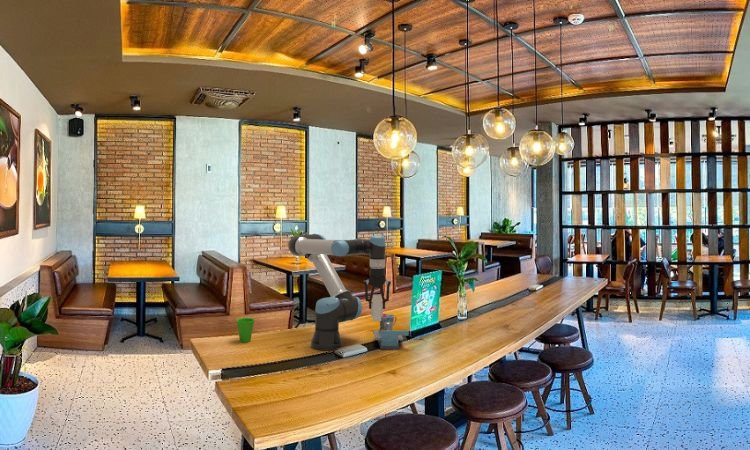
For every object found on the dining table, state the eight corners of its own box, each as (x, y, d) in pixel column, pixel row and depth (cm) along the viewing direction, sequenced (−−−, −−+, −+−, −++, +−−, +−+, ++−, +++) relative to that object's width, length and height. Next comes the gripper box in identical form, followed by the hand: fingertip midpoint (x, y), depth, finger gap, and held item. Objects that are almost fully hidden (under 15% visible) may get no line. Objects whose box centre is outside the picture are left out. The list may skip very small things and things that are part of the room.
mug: (385, 338, 251) (385, 318, 251) (373, 334, 258) (374, 315, 258) (401, 334, 259) (402, 315, 259) (390, 330, 266) (390, 312, 266)
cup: (258, 341, 239) (258, 320, 238) (242, 345, 232) (242, 323, 232) (248, 337, 245) (248, 316, 245) (232, 341, 238) (232, 319, 238)
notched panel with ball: (375, 349, 232) (376, 327, 231) (372, 339, 248) (373, 319, 248) (408, 349, 233) (408, 327, 232) (403, 339, 249) (404, 319, 249)
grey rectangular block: (372, 320, 228) (373, 296, 228) (372, 318, 232) (372, 294, 232) (381, 320, 228) (381, 296, 228) (380, 319, 232) (381, 294, 232)
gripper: (359, 268, 225) (359, 317, 226) (395, 268, 226) (394, 317, 226) (359, 266, 233) (359, 313, 234) (394, 266, 233) (394, 314, 234)
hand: (376, 315), depth 230 cm, fingers closed on grey rectangular block, 4 cm apart
